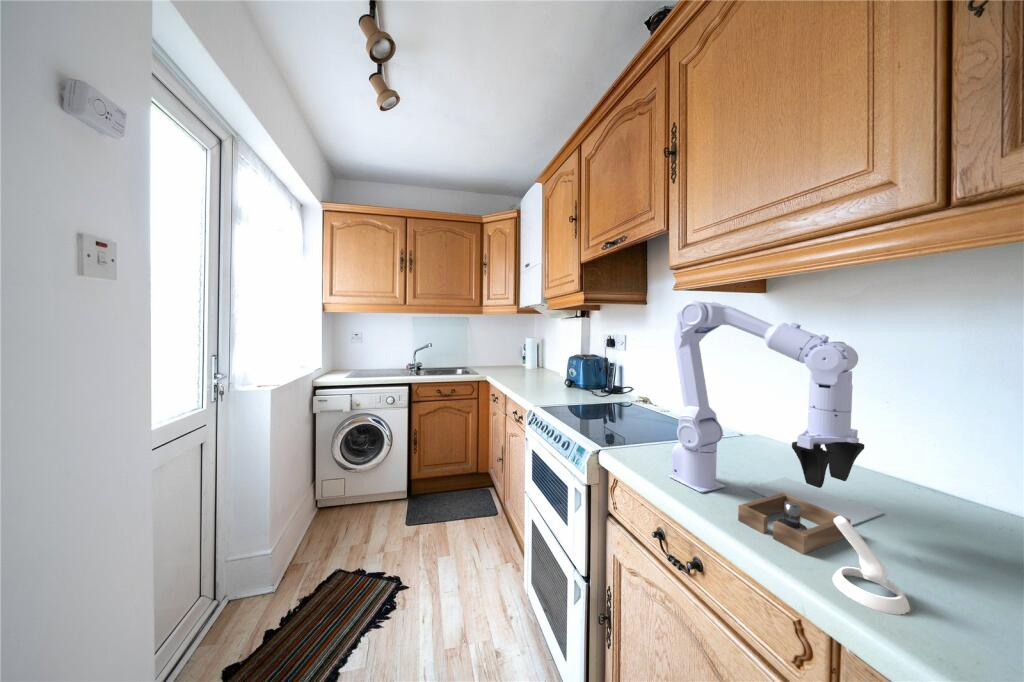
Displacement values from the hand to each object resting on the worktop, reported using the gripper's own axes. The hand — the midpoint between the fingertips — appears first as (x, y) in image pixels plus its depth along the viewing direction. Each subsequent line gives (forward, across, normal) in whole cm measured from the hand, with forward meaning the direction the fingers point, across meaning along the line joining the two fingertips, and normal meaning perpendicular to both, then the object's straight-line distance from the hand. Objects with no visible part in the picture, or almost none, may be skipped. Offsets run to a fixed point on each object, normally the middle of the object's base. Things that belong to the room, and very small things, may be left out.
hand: (826, 482), depth 63 cm
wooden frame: (+10, -4, +3) cm, 11 cm away
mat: (+10, +12, +8) cm, 17 cm away
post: (+10, -4, +3) cm, 11 cm away
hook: (+10, -12, -11) cm, 19 cm away
